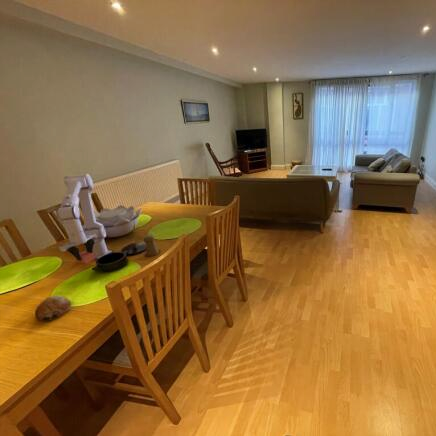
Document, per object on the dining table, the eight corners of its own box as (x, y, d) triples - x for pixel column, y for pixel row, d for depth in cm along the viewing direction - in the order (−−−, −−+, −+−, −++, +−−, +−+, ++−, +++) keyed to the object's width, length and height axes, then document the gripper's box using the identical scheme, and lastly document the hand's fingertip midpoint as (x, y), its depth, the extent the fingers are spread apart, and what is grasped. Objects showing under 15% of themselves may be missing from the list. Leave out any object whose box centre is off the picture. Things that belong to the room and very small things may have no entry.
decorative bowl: (99, 250, 137) (91, 226, 132) (83, 236, 154) (75, 214, 148) (153, 232, 160) (148, 211, 154) (134, 221, 176) (129, 202, 171)
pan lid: (115, 253, 134) (113, 245, 132) (136, 242, 146) (134, 235, 144) (133, 257, 130) (131, 249, 129) (154, 246, 142) (152, 238, 140)
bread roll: (78, 312, 97) (78, 292, 98) (53, 322, 87) (54, 300, 88) (52, 313, 97) (53, 293, 98) (25, 323, 87) (26, 300, 87)
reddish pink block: (76, 261, 114) (74, 255, 113) (86, 256, 118) (84, 251, 117) (85, 263, 112) (83, 257, 111) (95, 258, 116) (93, 253, 115)
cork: (145, 256, 131) (140, 238, 127) (148, 251, 136) (143, 233, 132) (157, 255, 132) (153, 237, 128) (159, 249, 138) (155, 232, 134)
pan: (86, 273, 117) (83, 265, 115) (120, 255, 133) (118, 247, 131) (104, 277, 113) (102, 269, 112) (137, 258, 129) (135, 251, 127)
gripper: (62, 240, 102) (73, 267, 107) (97, 226, 115) (106, 251, 120) (51, 237, 104) (63, 264, 109) (87, 224, 117) (96, 249, 122)
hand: (85, 257), depth 115 cm, fingers closed on reddish pink block, 4 cm apart
